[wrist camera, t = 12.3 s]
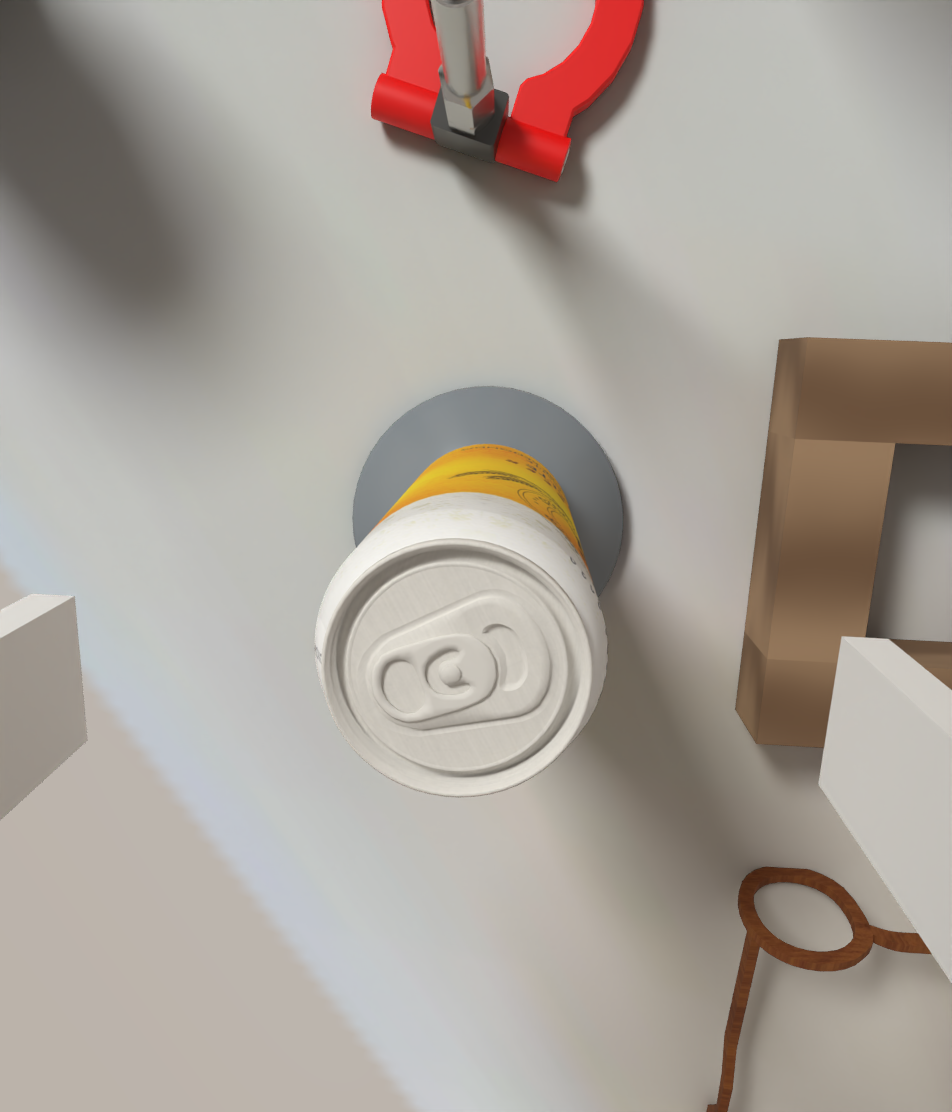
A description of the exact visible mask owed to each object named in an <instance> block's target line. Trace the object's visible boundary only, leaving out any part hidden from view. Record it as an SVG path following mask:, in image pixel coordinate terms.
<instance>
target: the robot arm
mask: <svg viewBox="0 0 952 1112" xmlns="http://www.w3.org/2000/svg"><path fill="white" fill-rule="evenodd" d="M86 741H87V729H86V718H85V708H84V696H83V684H82V673H81V662H80V651H79V640H78V629H77V617H76V606H75V596H63V595H44V594H30V595H28V596H26V597H25V598H23V599H21V600H19V601H17V602H15V603H13V604H11V605H9V606H7V607H5V608H3V609H1V610H0V820H1V819H2V818H3V817H5V816H6V815H7V814H8V813H9V812H10V811H11V810H12V809H13V808H14V807H15V806H16V805H18V804H19V803H20V802H21V801H22V800H23V799H24V798H25V797H26V796H27V795H29V794H30V792H32V791H33V790H34V789H35V788H36V787H37V786H38V785H39V784H41V782H43V781H44V780H45V779H46V778H47V777H48V776H49V775H50V774H51V773H52V772H53V771H55V770H56V769H57V768H58V767H59V766H60V765H61V764H62V763H63V762H64V761H65V760H67V759H68V758H69V757H70V756H71V755H72V754H73V753H74V752H75V751H77V750H78V749H79V748H80V747H81V746H82V745H83V744H84V743H85V742H86ZM818 785H819V786H820V788H821V789H822V791H823V792H824V794H825V795H826V796H827V798H828V799H829V801H830V802H831V804H832V805H833V807H834V808H835V810H836V811H837V813H838V814H839V816H840V817H841V819H842V820H843V822H844V823H845V825H846V826H847V828H848V829H849V831H850V832H851V834H852V835H853V837H854V838H855V840H856V841H857V843H858V844H859V846H860V847H861V849H862V850H863V852H864V853H865V855H866V856H867V858H868V859H869V861H870V862H871V864H872V865H873V867H874V868H875V870H876V871H877V873H878V874H879V876H880V877H881V879H882V880H883V882H884V883H885V885H886V886H887V888H888V889H889V891H890V892H891V894H892V895H893V897H894V898H895V900H896V901H897V903H898V904H899V906H900V907H901V909H902V910H903V912H904V913H905V915H906V916H907V918H908V919H909V920H910V922H911V923H912V925H913V926H914V928H915V929H916V931H917V932H918V934H919V935H920V937H921V938H922V940H923V941H924V943H925V944H926V946H927V947H928V949H929V950H930V952H931V953H932V955H933V956H934V958H935V959H936V961H937V962H938V964H939V965H940V967H941V968H942V970H943V971H944V973H945V974H946V976H947V977H948V979H949V980H950V982H951V983H952V690H951V689H950V688H948V687H947V686H946V685H945V684H943V683H942V682H941V681H940V680H939V679H937V678H936V677H935V676H934V675H932V674H931V673H930V672H929V671H927V670H926V669H925V668H924V667H923V666H921V665H920V664H919V663H918V662H916V661H915V660H914V659H913V658H911V657H910V656H909V655H908V654H906V653H905V652H904V651H903V650H902V649H900V648H899V647H898V646H897V645H895V644H894V643H893V642H892V641H890V640H889V639H883V638H864V637H845V636H842V637H841V644H840V650H839V656H838V663H837V669H836V675H835V682H834V688H833V694H832V701H831V707H830V713H829V720H828V726H827V733H826V739H825V745H824V752H823V758H822V764H821V771H820V777H819V783H818Z"/></svg>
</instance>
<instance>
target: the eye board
mask: <svg viewBox="0 0 952 1112" xmlns="http://www.w3.org/2000/svg"><path fill="white" fill-rule="evenodd" d="M895 443H902V444H926V445H949V446H952V343H945V342H918V341H891V340H865V339H838V338H811V337H807V338H794V339H781V340H779V347H778V355H777V363H776V372H775V380H774V388H773V397H772V405H771V414H770V422H769V430H768V439H767V447H766V456H765V464H764V472H763V481H762V489H761V498H760V506H759V514H758V523H757V531H756V539H755V548H754V556H753V565H752V573H751V581H750V590H749V598H748V607H747V615H746V623H745V632H744V640H743V649H742V657H741V665H740V674H739V682H738V690H737V699H736V707H735V710H736V711H737V713H738V715H739V716H740V718H741V719H742V721H743V723H744V724H745V726H746V728H747V729H748V731H749V733H750V734H751V736H752V737H753V739H754V741H755V742H756V744H767V745H785V746H802V747H819V748H824V745H825V739H826V733H827V726H828V720H829V713H830V707H831V701H832V694H833V688H834V682H835V675H836V669H837V663H838V656H839V650H840V644H841V637H842V636H845V637H864V638H865V636H866V629H867V623H868V616H869V610H870V604H871V597H872V591H873V584H874V578H875V571H876V565H877V558H878V552H879V546H880V539H881V533H882V526H883V520H884V513H885V507H886V500H887V494H888V488H889V481H890V475H891V468H892V462H893V455H894V449H895ZM889 640H890V641H892V642H893V643H894V644H895V645H897V646H898V647H899V648H900V649H902V650H903V651H904V652H905V653H906V654H908V655H909V656H910V657H911V658H913V659H914V660H915V661H916V662H918V663H919V664H920V665H921V666H923V667H924V668H925V669H926V670H927V671H929V672H930V673H931V674H932V675H934V676H935V677H936V678H937V679H939V680H940V681H941V682H942V683H943V684H945V685H946V686H947V687H948V688H950V689H951V690H952V642H935V641H916V640H897V639H889Z"/></svg>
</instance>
